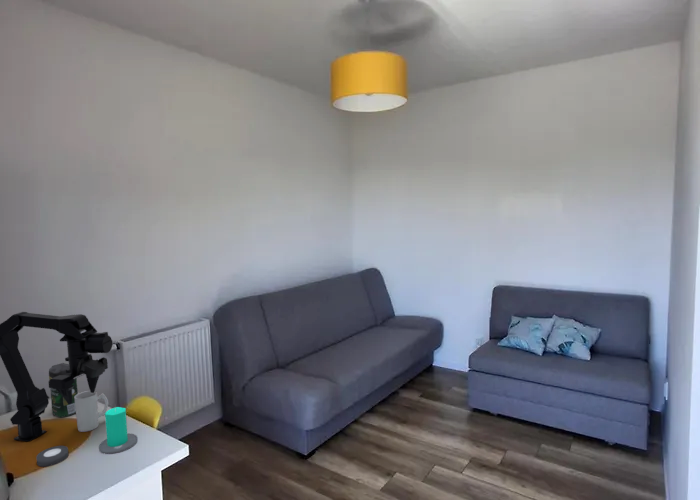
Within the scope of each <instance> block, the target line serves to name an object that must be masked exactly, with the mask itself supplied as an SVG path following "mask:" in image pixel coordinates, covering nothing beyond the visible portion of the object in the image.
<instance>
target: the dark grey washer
mask: <svg viewBox="0 0 700 500" xmlns="http://www.w3.org/2000/svg"><path fill="white" fill-rule="evenodd" d="M68 457H69V448H68V446H65V445H56V446H52V447H48V448H46V449H44V450H41V451H40V452H39V453H38V454H37V455H36V457H35V458H36V464H37V466H38V467H43V468H44V467H51V466H54V465H58V464H60V463H62V462H64V461H65V460H66V459H67V458H68Z"/></svg>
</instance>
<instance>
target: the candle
mask: <svg viewBox="0 0 700 500" xmlns="http://www.w3.org/2000/svg"><path fill="white" fill-rule="evenodd" d="M104 418H105V430H106V439H107V446H110V447H116V446H120V445H122V444H124V443H126V442H127V441H128V436H127V433H128V426H127V424H128V423H127V411H126V407H121V406H115V407H113V408H110V409H107V411H106V413H105V415H104Z"/></svg>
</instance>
